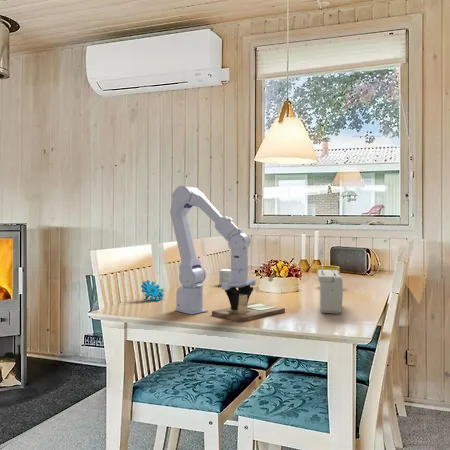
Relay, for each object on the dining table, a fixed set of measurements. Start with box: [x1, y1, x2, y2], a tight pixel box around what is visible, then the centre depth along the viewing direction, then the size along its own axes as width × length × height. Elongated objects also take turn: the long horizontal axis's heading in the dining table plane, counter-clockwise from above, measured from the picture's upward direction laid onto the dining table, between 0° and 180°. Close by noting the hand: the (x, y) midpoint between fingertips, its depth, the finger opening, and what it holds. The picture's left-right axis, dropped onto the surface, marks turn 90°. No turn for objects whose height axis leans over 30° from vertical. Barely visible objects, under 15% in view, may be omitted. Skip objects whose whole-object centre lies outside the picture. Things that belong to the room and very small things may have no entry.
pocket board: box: [211, 302, 286, 323], centre depth 168 cm, size 14×22×2 cm, turn 134°
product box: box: [218, 268, 231, 287], centre depth 231 cm, size 6×6×7 cm
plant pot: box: [316, 264, 341, 283], centre depth 226 cm, size 10×10×10 cm
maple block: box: [231, 294, 247, 314], centre depth 165 cm, size 4×4×7 cm
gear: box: [140, 280, 165, 302], centre depth 194 cm, size 11×6×10 cm
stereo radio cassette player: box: [317, 251, 344, 315], centre depth 178 cm, size 21×8×20 cm, turn 170°
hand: (238, 308), depth 165 cm, fingers closed on maple block, 4 cm apart
